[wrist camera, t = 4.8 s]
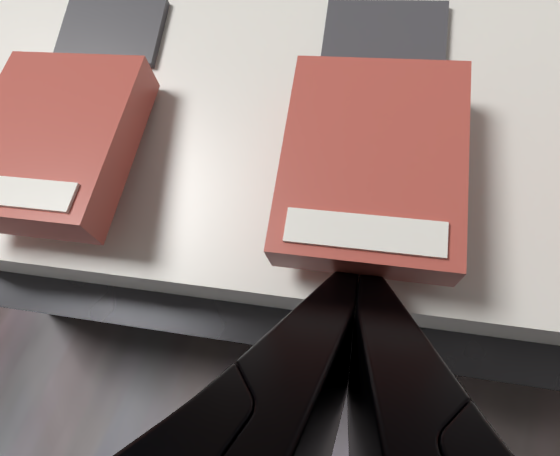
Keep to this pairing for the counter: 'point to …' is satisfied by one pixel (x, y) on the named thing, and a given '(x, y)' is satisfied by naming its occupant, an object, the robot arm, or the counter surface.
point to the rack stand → (262, 325)
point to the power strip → (269, 137)
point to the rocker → (69, 140)
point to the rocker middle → (375, 170)
